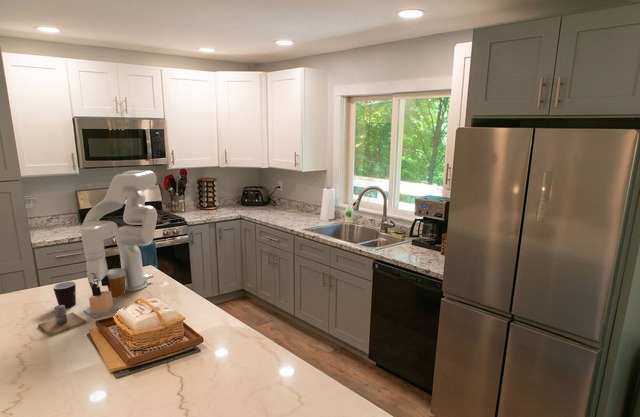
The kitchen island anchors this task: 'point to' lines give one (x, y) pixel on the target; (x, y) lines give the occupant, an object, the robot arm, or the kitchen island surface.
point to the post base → (61, 328)
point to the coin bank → (101, 302)
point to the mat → (96, 315)
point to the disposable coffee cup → (117, 282)
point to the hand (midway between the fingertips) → (101, 290)
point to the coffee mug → (66, 293)
